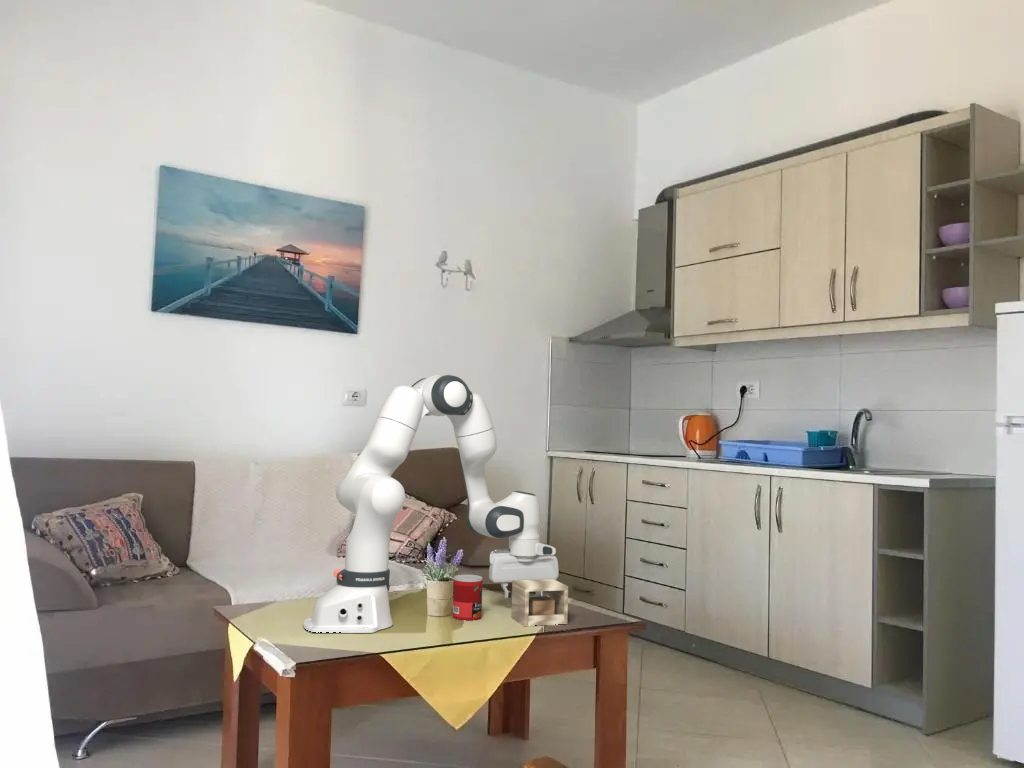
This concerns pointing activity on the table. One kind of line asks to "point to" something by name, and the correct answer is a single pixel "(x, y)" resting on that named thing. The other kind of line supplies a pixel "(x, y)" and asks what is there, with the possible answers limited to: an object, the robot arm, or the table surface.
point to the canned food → (467, 597)
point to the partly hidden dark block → (541, 606)
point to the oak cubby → (522, 601)
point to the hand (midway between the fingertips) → (523, 597)
